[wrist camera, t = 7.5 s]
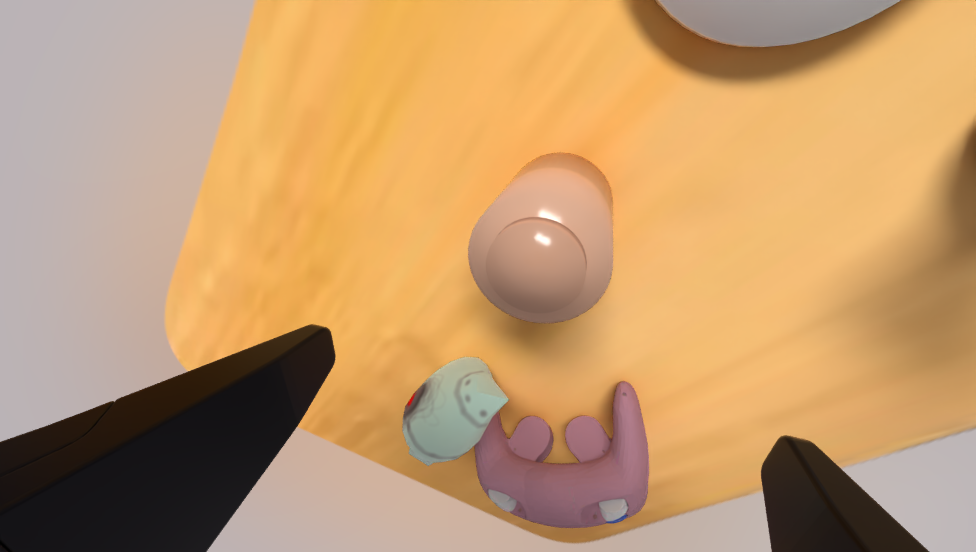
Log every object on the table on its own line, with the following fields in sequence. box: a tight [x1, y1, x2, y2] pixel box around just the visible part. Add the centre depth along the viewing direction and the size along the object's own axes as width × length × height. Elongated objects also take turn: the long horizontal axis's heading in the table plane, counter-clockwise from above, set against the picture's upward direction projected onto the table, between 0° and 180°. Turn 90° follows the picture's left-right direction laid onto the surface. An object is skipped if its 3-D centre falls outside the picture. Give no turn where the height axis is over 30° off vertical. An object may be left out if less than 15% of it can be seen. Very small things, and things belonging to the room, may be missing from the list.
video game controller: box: [474, 381, 649, 528], centre depth 22 cm, size 10×5×7 cm, turn 107°
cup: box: [468, 153, 613, 323], centre depth 15 cm, size 5×5×7 cm
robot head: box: [403, 357, 509, 466], centre depth 21 cm, size 8×4×7 cm, turn 145°
